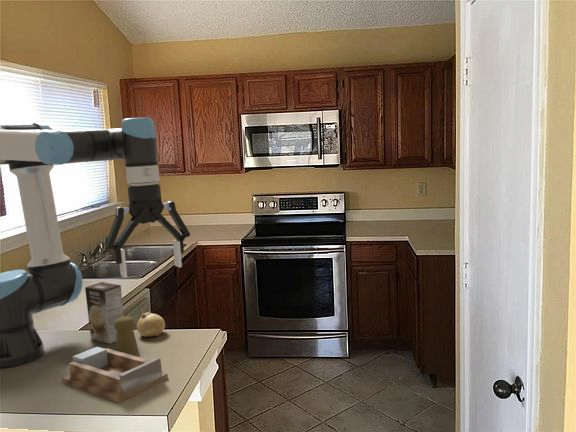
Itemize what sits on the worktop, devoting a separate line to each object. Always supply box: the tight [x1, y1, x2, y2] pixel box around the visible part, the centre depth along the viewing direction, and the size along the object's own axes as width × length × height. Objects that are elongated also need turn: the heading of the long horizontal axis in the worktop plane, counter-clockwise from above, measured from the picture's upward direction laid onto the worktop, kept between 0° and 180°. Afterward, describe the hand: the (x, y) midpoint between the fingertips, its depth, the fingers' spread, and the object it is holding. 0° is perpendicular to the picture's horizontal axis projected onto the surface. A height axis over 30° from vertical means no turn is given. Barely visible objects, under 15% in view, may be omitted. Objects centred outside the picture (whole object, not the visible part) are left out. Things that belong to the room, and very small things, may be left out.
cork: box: [114, 315, 141, 358], centre depth 145 cm, size 6×6×11 cm
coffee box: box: [84, 281, 125, 344], centre depth 160 cm, size 9×6×16 cm
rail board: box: [61, 347, 169, 404], centre depth 131 cm, size 22×14×6 cm, turn 54°
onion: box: [136, 311, 166, 338], centre depth 162 cm, size 8×8×7 cm
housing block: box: [72, 346, 108, 369], centre depth 136 cm, size 4×7×4 cm, turn 144°
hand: (152, 271), depth 132 cm, fingers open, 13 cm apart
